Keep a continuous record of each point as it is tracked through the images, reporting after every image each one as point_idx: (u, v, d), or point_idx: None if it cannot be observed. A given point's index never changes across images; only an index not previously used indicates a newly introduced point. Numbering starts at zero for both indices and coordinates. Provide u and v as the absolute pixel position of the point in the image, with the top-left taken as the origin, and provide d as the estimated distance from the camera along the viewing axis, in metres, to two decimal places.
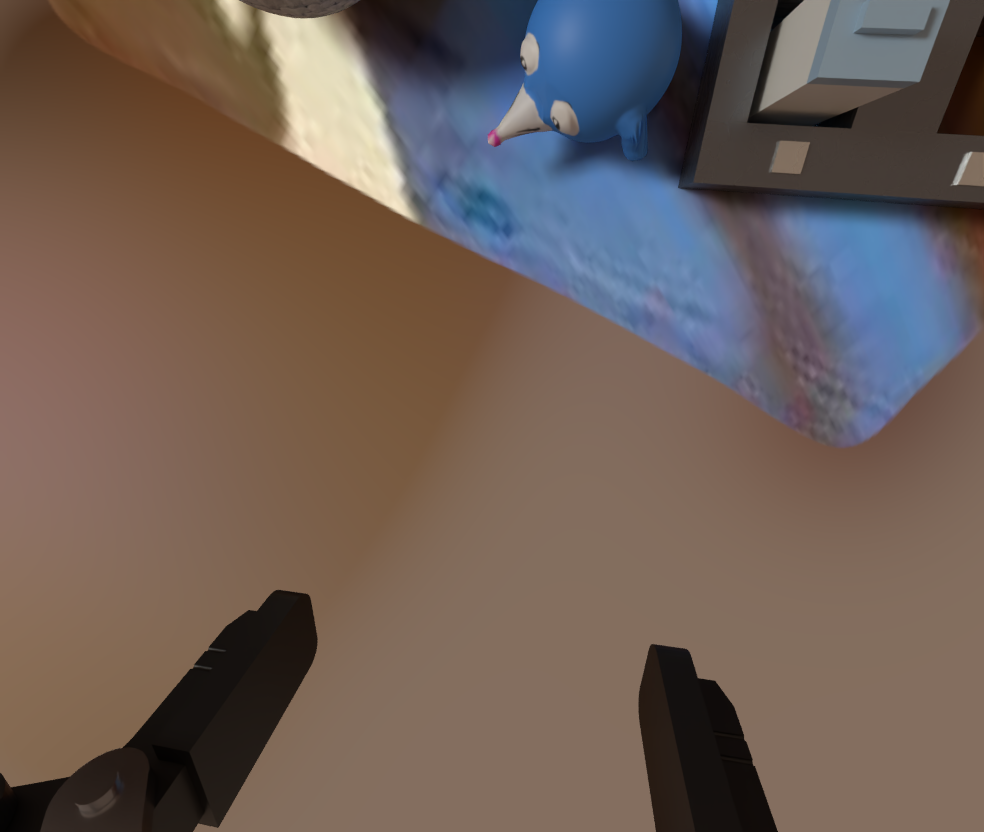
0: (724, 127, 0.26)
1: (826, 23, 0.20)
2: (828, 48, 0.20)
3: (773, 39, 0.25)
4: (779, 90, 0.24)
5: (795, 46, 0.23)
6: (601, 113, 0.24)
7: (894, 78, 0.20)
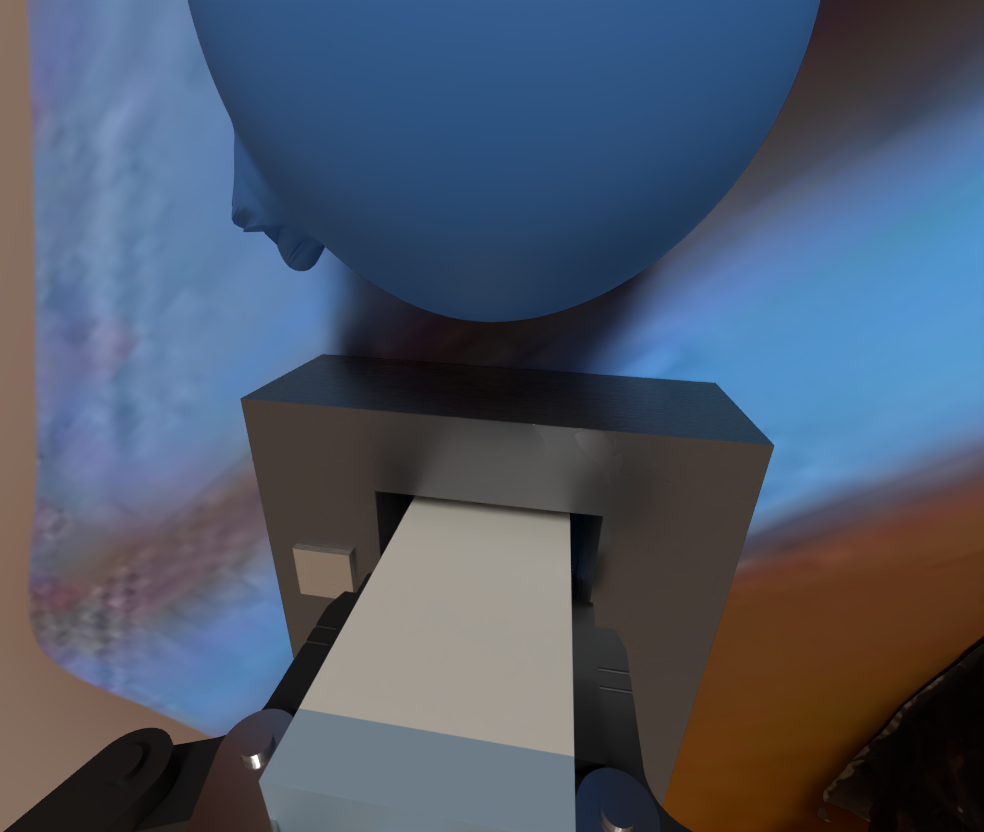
0: (360, 448, 0.11)
1: (428, 751, 0.06)
2: (333, 801, 0.06)
3: None
4: (399, 566, 0.10)
5: (472, 594, 0.09)
6: (194, 21, 0.05)
7: None
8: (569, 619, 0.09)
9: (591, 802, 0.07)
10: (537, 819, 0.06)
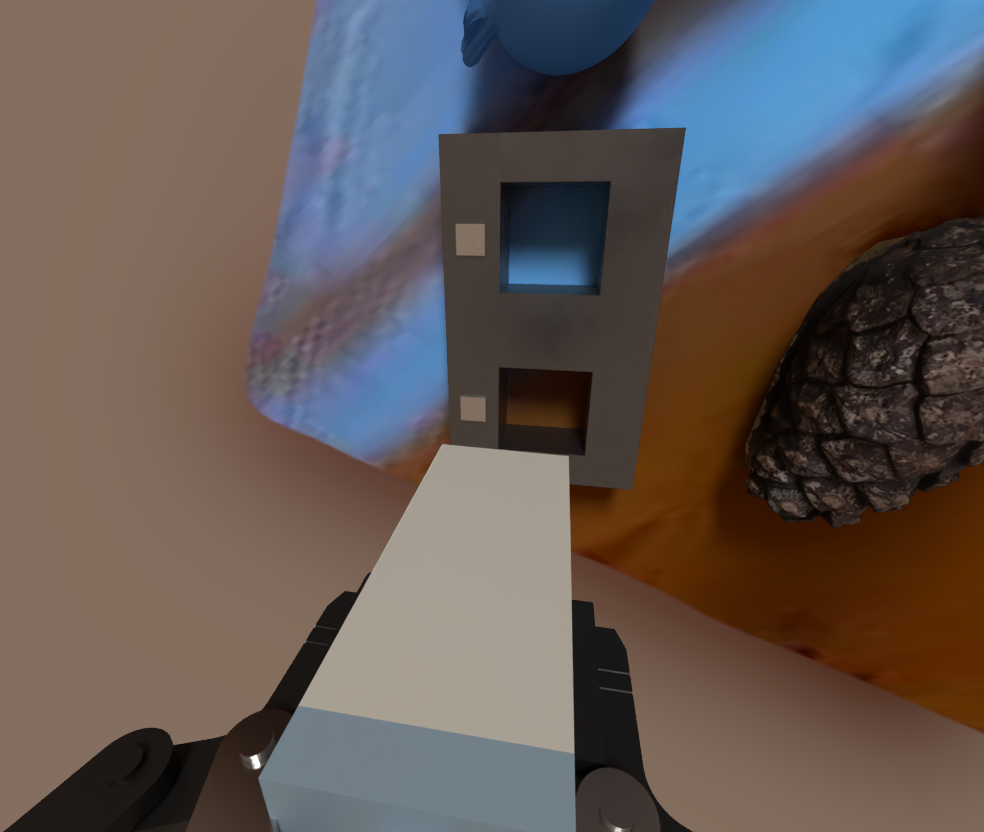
0: (494, 156, 0.23)
1: (428, 748, 0.06)
2: (333, 797, 0.06)
3: (547, 499, 0.12)
4: (399, 564, 0.10)
5: (472, 591, 0.09)
6: None
7: None
8: (569, 617, 0.09)
9: (591, 802, 0.07)
10: (537, 816, 0.06)
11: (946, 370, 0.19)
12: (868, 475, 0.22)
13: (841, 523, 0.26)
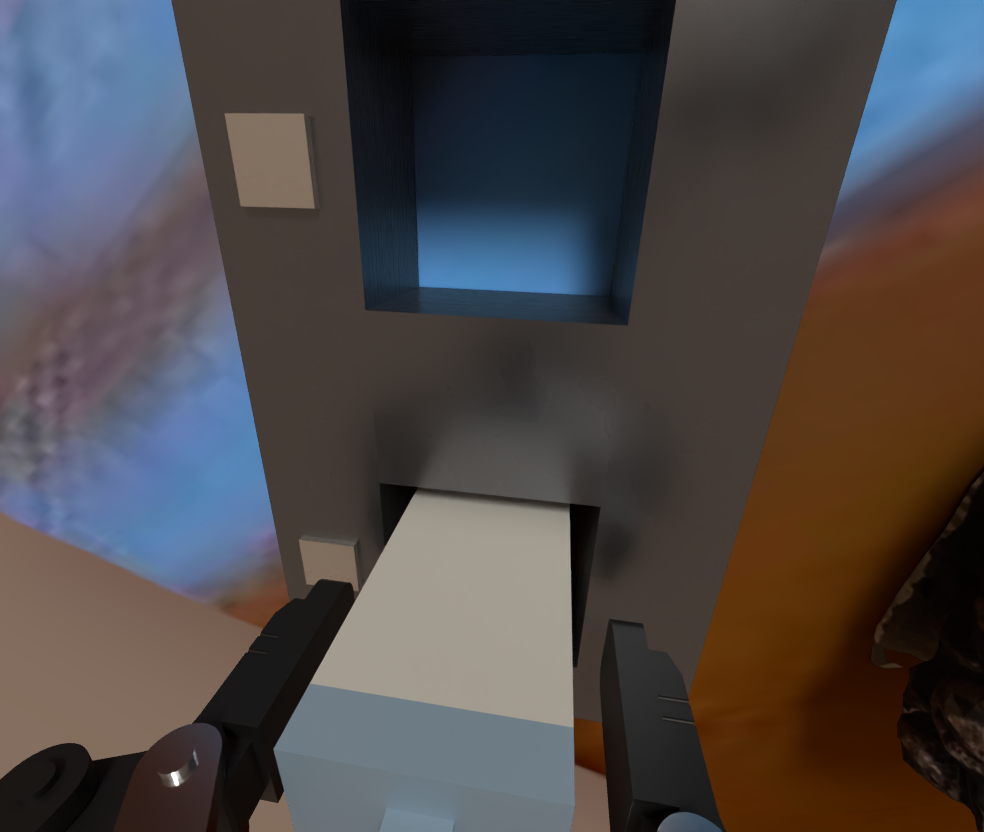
0: None
1: (435, 722, 0.07)
2: (344, 767, 0.06)
3: None
4: (404, 552, 0.10)
5: (475, 579, 0.10)
6: None
7: None
8: (569, 602, 0.09)
9: None
10: (538, 784, 0.06)
11: None
12: None
13: None
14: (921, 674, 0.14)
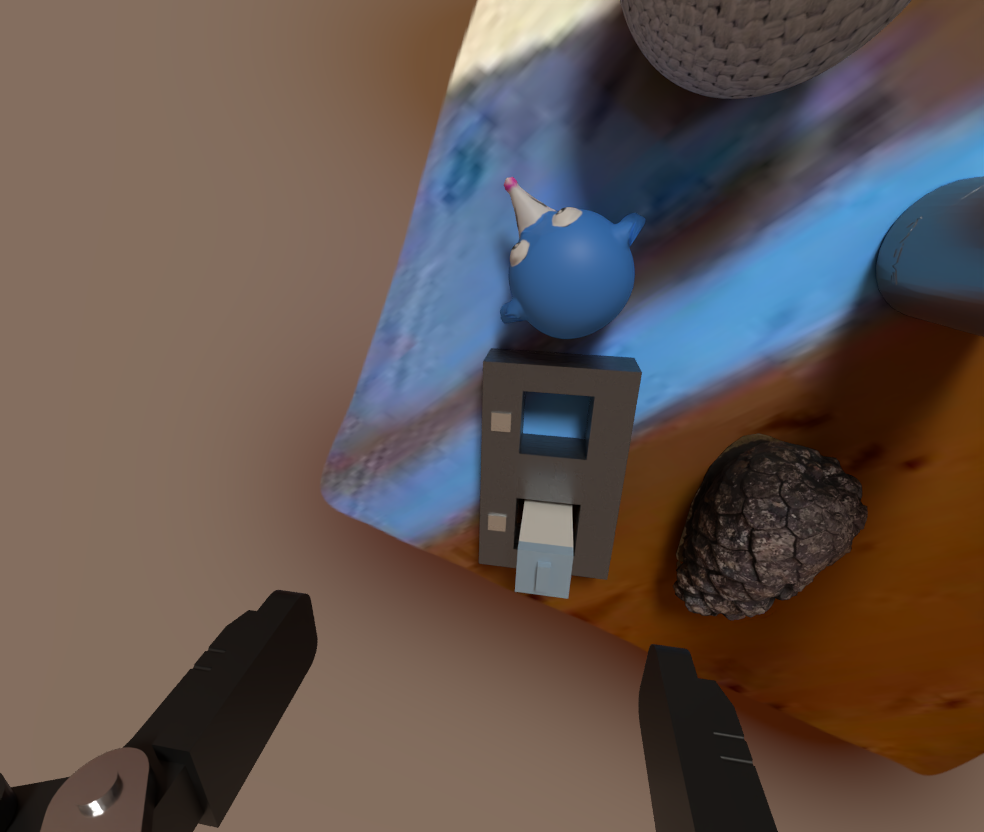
0: (519, 376, 0.35)
1: (546, 546, 0.35)
2: (531, 552, 0.34)
3: None
4: (528, 517, 0.38)
5: (548, 523, 0.38)
6: (518, 285, 0.30)
7: (516, 581, 0.36)
8: (572, 527, 0.37)
9: None
10: (567, 553, 0.34)
11: (762, 548, 0.32)
12: (736, 598, 0.36)
13: (733, 618, 0.39)
14: (679, 566, 0.42)
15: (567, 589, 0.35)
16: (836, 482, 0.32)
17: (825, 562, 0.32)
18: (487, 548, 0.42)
